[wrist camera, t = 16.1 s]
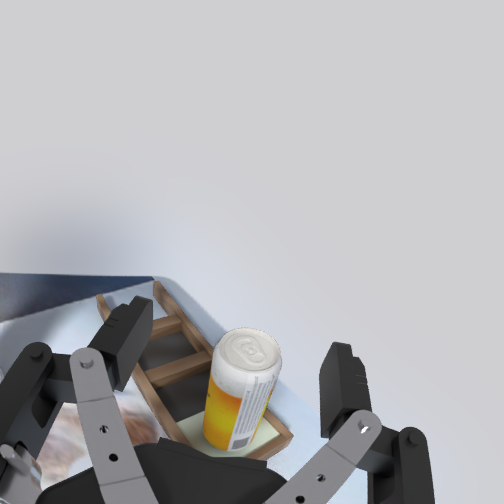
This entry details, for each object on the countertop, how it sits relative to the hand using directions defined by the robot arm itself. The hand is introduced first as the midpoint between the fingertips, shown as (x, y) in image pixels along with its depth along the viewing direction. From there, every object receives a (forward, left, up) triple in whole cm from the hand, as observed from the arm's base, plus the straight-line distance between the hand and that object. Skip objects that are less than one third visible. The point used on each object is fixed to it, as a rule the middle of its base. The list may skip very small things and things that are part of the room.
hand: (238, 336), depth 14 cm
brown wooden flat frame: (-8, +19, -28) cm, 34 cm away
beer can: (+1, +10, -25) cm, 27 cm away
